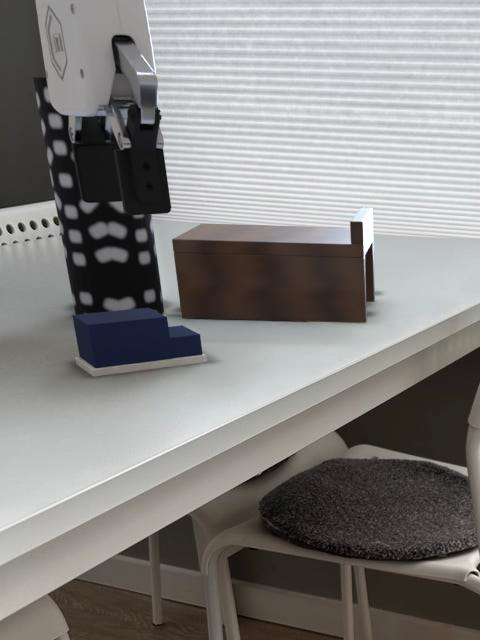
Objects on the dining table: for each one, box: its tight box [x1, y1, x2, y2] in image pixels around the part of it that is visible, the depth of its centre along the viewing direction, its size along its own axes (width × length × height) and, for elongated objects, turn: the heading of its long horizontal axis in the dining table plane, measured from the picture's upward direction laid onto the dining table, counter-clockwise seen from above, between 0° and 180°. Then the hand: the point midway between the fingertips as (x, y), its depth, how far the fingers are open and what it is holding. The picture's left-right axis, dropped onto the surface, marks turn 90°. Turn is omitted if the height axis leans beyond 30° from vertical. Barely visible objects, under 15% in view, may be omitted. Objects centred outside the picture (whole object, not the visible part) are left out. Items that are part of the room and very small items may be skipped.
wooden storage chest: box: [171, 206, 376, 324], centre depth 96 cm, size 18×12×9 cm, turn 91°
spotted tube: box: [32, 76, 165, 315], centre depth 88 cm, size 8×8×20 cm
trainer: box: [71, 308, 208, 377], centre depth 74 cm, size 9×4×4 cm, turn 126°
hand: (125, 207), depth 69 cm, fingers open, 9 cm apart
